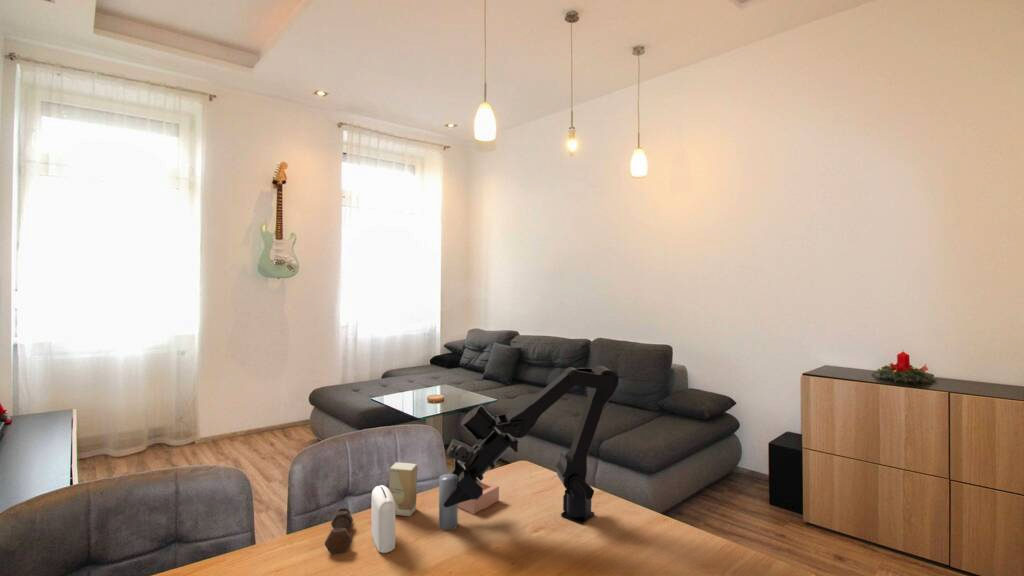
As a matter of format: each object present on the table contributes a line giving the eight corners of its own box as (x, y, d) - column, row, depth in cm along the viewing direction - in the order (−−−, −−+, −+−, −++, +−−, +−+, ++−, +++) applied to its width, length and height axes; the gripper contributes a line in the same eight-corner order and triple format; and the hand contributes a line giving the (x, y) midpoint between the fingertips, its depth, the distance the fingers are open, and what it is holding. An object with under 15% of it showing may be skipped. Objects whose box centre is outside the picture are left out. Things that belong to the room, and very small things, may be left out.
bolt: (346, 528, 123) (341, 559, 109) (328, 520, 122) (320, 551, 108) (358, 506, 124) (355, 535, 110) (340, 498, 123) (334, 526, 109)
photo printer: (369, 533, 117) (369, 482, 117) (387, 529, 119) (387, 479, 119) (377, 555, 108) (377, 500, 108) (397, 551, 110) (397, 496, 110)
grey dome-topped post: (461, 524, 122) (461, 477, 121) (447, 532, 118) (448, 483, 118) (448, 518, 125) (449, 472, 124) (435, 525, 121) (435, 477, 121)
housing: (498, 500, 135) (498, 486, 135) (473, 514, 127) (473, 499, 127) (472, 490, 141) (472, 476, 141) (447, 502, 133) (447, 488, 133)
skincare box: (387, 514, 126) (388, 467, 126) (394, 506, 131) (394, 461, 130) (411, 517, 125) (411, 469, 125) (417, 509, 130) (417, 463, 129)
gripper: (464, 418, 131) (422, 461, 129) (469, 442, 112) (419, 492, 111) (493, 446, 132) (452, 489, 131) (502, 474, 114) (454, 524, 112)
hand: (444, 497), depth 121 cm, fingers open, 9 cm apart
